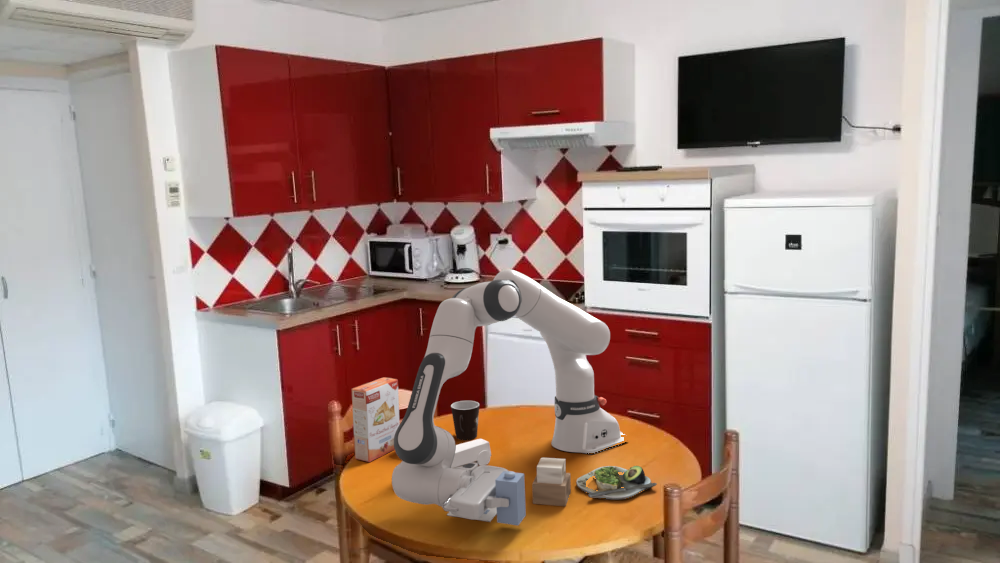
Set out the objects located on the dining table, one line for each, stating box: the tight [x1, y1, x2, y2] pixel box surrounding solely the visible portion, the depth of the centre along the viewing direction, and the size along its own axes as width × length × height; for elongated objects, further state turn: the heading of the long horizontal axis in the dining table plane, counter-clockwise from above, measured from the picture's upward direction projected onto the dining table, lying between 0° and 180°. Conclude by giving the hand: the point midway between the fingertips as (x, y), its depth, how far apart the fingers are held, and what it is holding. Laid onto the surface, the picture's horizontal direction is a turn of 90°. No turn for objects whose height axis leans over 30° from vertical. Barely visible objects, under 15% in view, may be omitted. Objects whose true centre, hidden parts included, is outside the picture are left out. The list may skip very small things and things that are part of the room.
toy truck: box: [451, 438, 492, 469], centre depth 202 cm, size 25×7×9 cm, turn 127°
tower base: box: [531, 457, 572, 507], centre depth 183 cm, size 8×8×9 cm
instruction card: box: [446, 508, 497, 523], centre depth 178 cm, size 8×11×1 cm
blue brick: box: [495, 470, 527, 526], centre depth 167 cm, size 5×5×11 cm
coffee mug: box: [450, 400, 480, 441], centre depth 226 cm, size 12×9×10 cm
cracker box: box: [351, 376, 401, 463], centre depth 216 cm, size 14×6×21 cm, turn 148°
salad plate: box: [575, 465, 658, 500], centre depth 188 cm, size 19×18×5 cm
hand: (514, 496), depth 167 cm, fingers closed on blue brick, 5 cm apart
